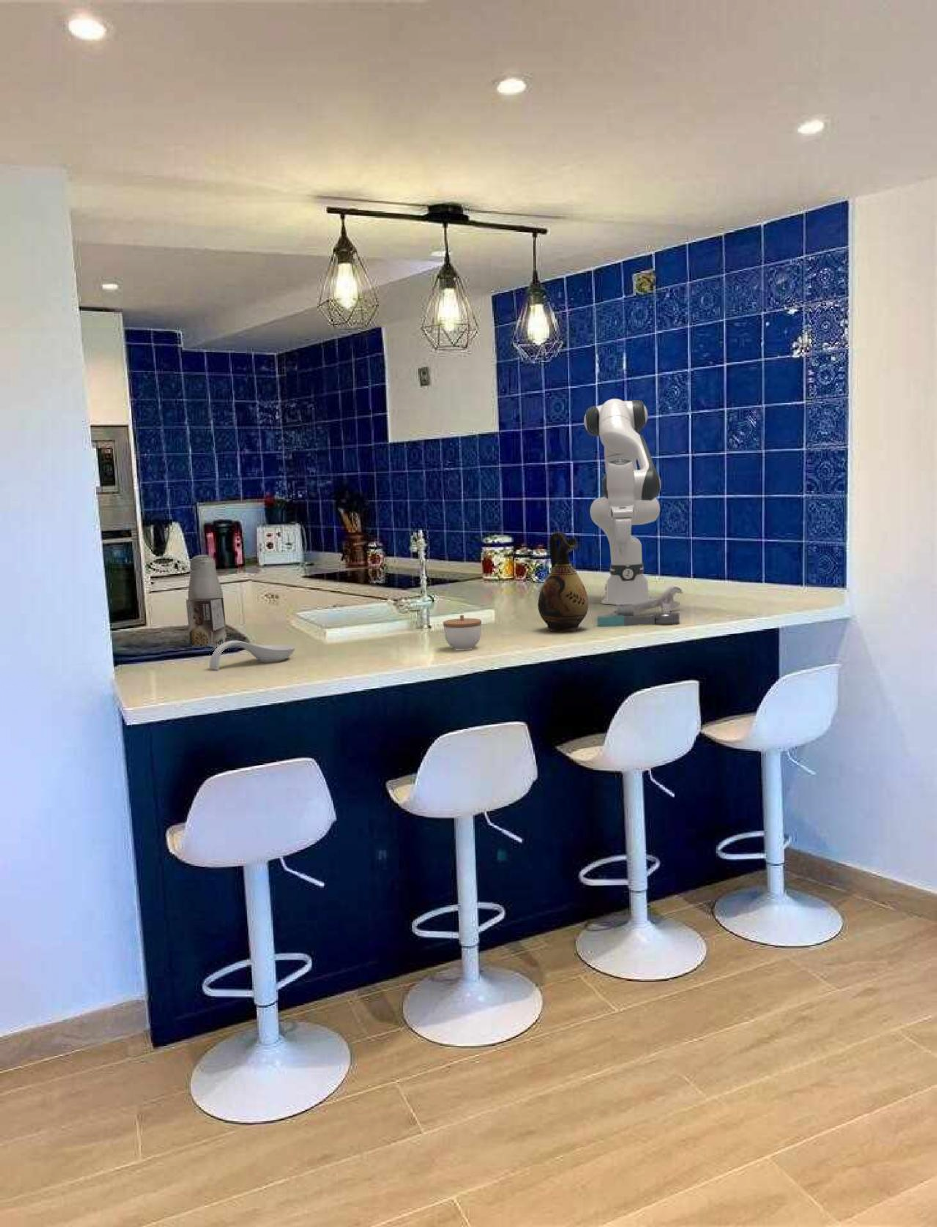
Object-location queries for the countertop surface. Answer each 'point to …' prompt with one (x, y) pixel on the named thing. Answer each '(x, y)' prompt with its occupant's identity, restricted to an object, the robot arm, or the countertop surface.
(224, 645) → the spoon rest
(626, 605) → the socket
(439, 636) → the countertop surface
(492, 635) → the countertop surface
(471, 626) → the lidded jar
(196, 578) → the grey tapered cylinder
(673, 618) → the ratchet
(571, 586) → the ceramic jug
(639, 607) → the wrench
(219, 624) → the coffee box
